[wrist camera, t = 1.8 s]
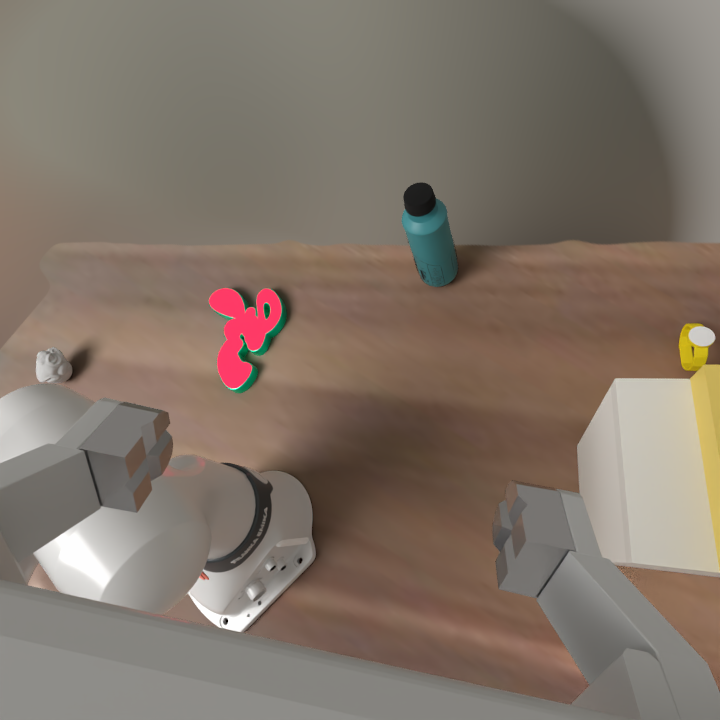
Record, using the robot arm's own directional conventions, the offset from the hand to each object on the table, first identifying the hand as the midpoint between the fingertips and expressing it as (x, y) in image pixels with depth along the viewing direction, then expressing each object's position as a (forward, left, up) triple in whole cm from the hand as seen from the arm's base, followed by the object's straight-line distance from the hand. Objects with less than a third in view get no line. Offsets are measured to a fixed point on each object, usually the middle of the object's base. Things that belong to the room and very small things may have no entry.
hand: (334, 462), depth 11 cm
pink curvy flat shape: (+4, +52, -57) cm, 77 cm away
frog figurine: (-21, +82, -56) cm, 101 cm away
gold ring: (+35, -9, -56) cm, 67 cm away
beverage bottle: (+31, +27, -56) cm, 69 cm away
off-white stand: (+15, -13, -56) cm, 59 cm away
